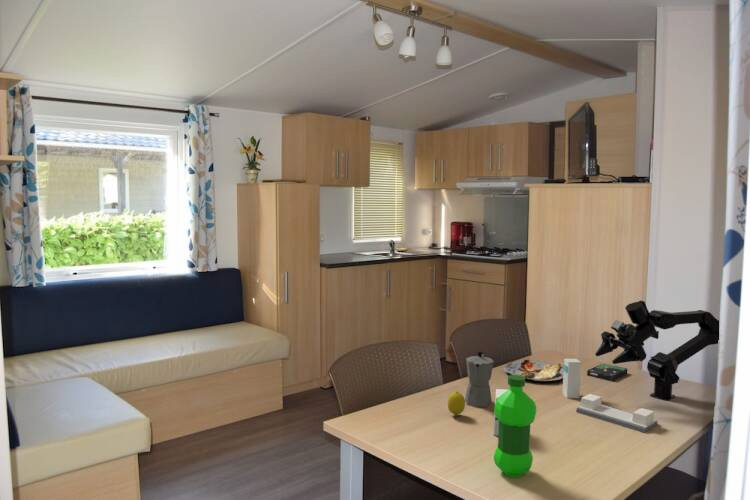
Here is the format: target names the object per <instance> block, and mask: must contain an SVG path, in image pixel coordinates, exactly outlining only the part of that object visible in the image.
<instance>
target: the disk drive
mask: <svg viewBox="0 0 750 500" xmlns="http://www.w3.org/2000/svg"><path fill="white" fill-rule="evenodd" d="M627 374H628V368H626V367H622V366H618V365H611V364H608V363H607V364H606V363H601V364H599V365H596V366H594V367H591V368H589V369H588V370H587V371H586V376H588V377H592V378H594V379H600V380H603V379H604V381H608V382H614V381H616V380H617V379H620V378H622V377H624V376H626V375H627Z"/></svg>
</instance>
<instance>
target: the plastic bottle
mask: <svg viewBox="0 0 750 500" xmlns="http://www.w3.org/2000/svg"><path fill="white" fill-rule="evenodd" d="M520 375H521V374H520ZM520 375H519V374H516V375H512V374H510V375H508V377H507V385H509V389H507V390H508V391H506V392H505V393H503V394H502V395H501V396H499V397H498V399H497V401H496V403H495V402H494V409H493V410H494V411H493V413H494V412H495V416H496V417H497V418H498V420H499V434H498V436H497V437H498V438H497V439H498V440H497V447H496V449H495V451H494V455H493V461H494V462H493V463H494V464H495V466H497V468H498V469H499V470H500V471H501V472H502V473H503V474H504V475H505V476H508V477H510V478H519V477H522V476H523V475H525V474H526V473H528V472H529V471H530V470H531V468H532V465H533V459H534V458H533V453H532V450H531V449H530V443H531V441H530V440H531V424H532V423H534V421H535V418H536V414H537V405H536V402H535V401H534V400H533V399H532V398H531V397H530V396H529V395H528V394H527V393H525V391H524V390H523V387H525V386H526V379H525V377H523V376H520ZM522 474H523V475H522ZM521 475H522V476H521Z"/></svg>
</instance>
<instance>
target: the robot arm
mask: <svg viewBox="0 0 750 500" xmlns="http://www.w3.org/2000/svg"><path fill="white" fill-rule="evenodd" d="M624 308H625V311H626V313H627V315H628V317H629V320H630V321H631V323H625V322H623V321H620V320H617V319H616V320H615V321H614V322H613V324H612V325H611V327H610V328H611V329H612V330H613V331H615V332H616V336H615V334H614V333H612V332H609V331H606V330H604V331H603V332H602V333H601V334H600V336H601V340H602V341H601V343H600V345H599V347H598V349H597V351H596V352H595V353H594V354H595V356H596V357H600V356H603V355H606V354H608V353H609V354H610V353H613V352H614V350H616V349H618V347H620V348H621V349H623V351H621V352H620V353H619V354H618V355H617V356H615V358H614V359H612V361H611V362H612V364H613V365H614V364H615V365H617V364H623V363H631V362H643V361H645V360H646V359H647V353H646V350H645V348H644V347H643V346H644V345H645V343H644V342H645V341H647V340H648V339H649V338H654V339H657V340H658V339H659V337H660V336H659V335H660V334H659V333H660V331H659V330H657V329H656V328H658V329H661V330H669V329H673V328H674V327H676V326H679V325H688V324H690V325H691V324H697V325H698V328H699V330H698V334H697V335H695V336H694V337H692V338H690V339H689V340H687V341H686V342H684V343H683V344H681V345H680V346H678V347H676V348H675V349H674V350H672V351H670V352H668V353H667V354H666V353H664V352H661V351H658V352H657V353H656V354H655V355H652V356H650V359H649V360H648V361H647V364H646V365H647V366H646V369H647V371H648V373H649V377H650V378H654V385H653V387H654V388H653V392H652V393H650V394H649V396H650V397H653V398H658V399H661V400H665V401H670V400H672V399H674V398H675V397H676V395H675V394H672V393H673V385H675V384H678V383H679V380H680V376H679V375H678V374H677V370H678V367H679V365H681V364H683V362H686V361H687V360H689V359H690V358H691V357H693V356H694V355H696V354H697V353H699V352H701V351H702V350H704V349H705V348H706V347H708V346H712V345H713V346H714V345H719V344H718V340H719V321H720V320H718V319H717V318H716V317H715V316H714V315H713V314H712V313H711V312H709V311H707V310H702V309H698V310H690V311H688V310H687V311H678V312H669V311H663V310H655V309H653V310H651V311H650V312H649V309H648V307H647V305H646V301H643V300H639V301H635V302H631V303H628V304H627V305H626V306H625V307H624ZM633 324H636V325H633ZM616 337H617V338H618V339H617V338H616Z"/></svg>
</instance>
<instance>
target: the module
mask: <svg viewBox="0 0 750 500" xmlns="http://www.w3.org/2000/svg"><path fill="white" fill-rule="evenodd" d="M563 368H564V373H563V378H562V395H563V396H564V397H565V398H566V399H580V390H581V389H580V388H581V387H580V385H581V375H582V373H581V372H582V371H581V370H582V362H581V361H580V360H579V359H578V358H564V359H563Z"/></svg>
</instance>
